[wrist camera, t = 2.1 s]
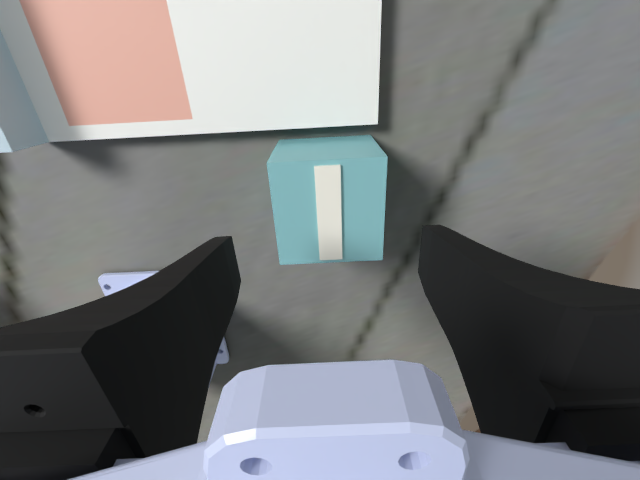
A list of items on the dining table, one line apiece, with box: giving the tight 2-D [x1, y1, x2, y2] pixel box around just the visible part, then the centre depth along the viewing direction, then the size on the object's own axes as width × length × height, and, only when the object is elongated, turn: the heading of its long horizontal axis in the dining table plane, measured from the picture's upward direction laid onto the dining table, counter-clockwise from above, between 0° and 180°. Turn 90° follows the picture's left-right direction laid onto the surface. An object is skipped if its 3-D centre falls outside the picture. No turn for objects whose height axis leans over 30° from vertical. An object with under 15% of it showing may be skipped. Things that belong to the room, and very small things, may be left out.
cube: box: [267, 135, 388, 265], centre depth 18 cm, size 6×6×6 cm
